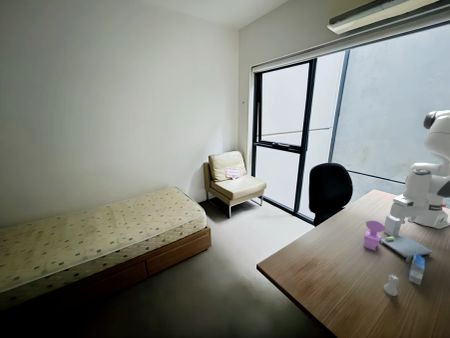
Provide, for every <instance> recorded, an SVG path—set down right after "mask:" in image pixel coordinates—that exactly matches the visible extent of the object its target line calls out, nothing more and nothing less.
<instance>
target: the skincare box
mask: <svg viewBox="0 0 450 338" xmlns="http://www.w3.org/2000/svg"><path fill="white" fill-rule="evenodd" d="M399 221H400V219H399V218H395V217H393V216H391V215H387V216H385V221H384V224H383V226H384V227H385V229H384V230H383V231H382V232H384V233H386V234H387V235H389V237H396V236H400V231H401V226H402V224H401V223H399Z"/></svg>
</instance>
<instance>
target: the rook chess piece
mask: <svg viewBox="0 0 450 338" xmlns="http://www.w3.org/2000/svg"><path fill="white" fill-rule="evenodd" d="M398 282H400V279H399V277H398V276H397V275H395V274H392V273H391V274H390V275H388V281H387V283H385V284H384V285H383V291H384V292H385V293H387V295H389V296H393V297H396V296H398V290H397V289H398V288H397V285H398Z"/></svg>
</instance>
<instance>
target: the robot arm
mask: <svg viewBox="0 0 450 338" xmlns="http://www.w3.org/2000/svg"><path fill="white" fill-rule="evenodd" d="M422 122H423V128H424V129H427V130H428V132H427V133H426V137H425V138H424V142H423V144H424V146H425V148H426V149H427V150H428V151H429V152H431V153H430V154H431V156H433V157H434V158H436V159H437V160H440V161H441V162H442V164H438V163H429V162H415V163H413V164H411V165H410V167H409V170H408V175H407V176H406V180H405V182H404V184H405V186H404V187H405V188H404V190H403V191H402V194H400V195H398V196H396V197H394V198H393V200H392V201H393V202H392V204H391V208H390V211H389V215H390V216H393V217H395V218H398V219H400V221H399V223H401V225H404V224H405V223H406V220H405V219H406V218H407V223H409V224H413V223H414V222H415V223H417V224H420V225H421V226H427V227H432V228H435V229H443V228H445V227H448V226H450V220H448V217H449V214H448V213H447V212H446V211H444V210H443V208H446V207H447V203H443V201H444V198H445V199H448V198H450V110H441V111H438V110H437V111H430V112H429V113H427V114H426V116H425V117H424V119H423V121H422Z"/></svg>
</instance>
